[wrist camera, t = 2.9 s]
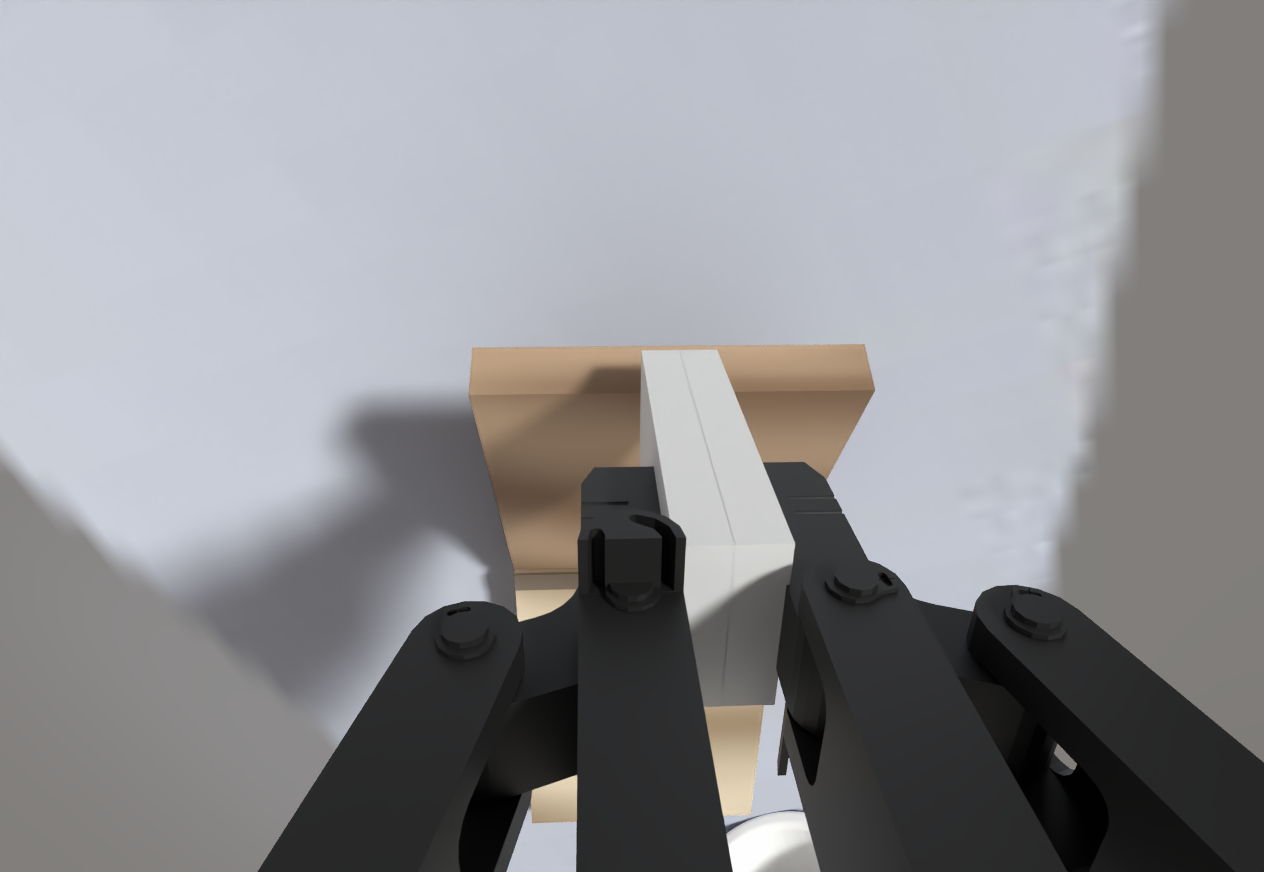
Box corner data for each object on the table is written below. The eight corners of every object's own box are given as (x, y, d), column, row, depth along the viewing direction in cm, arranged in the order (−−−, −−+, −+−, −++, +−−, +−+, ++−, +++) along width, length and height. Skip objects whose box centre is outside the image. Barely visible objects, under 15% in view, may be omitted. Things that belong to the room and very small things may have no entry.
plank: (472, 347, 17) (469, 395, 16) (864, 344, 17) (875, 390, 17) (515, 534, 25) (513, 569, 25) (775, 528, 26) (780, 563, 25)
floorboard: (517, 547, 26) (513, 575, 25) (771, 541, 27) (781, 569, 25) (534, 791, 32) (532, 826, 30) (744, 784, 32) (751, 817, 31)
